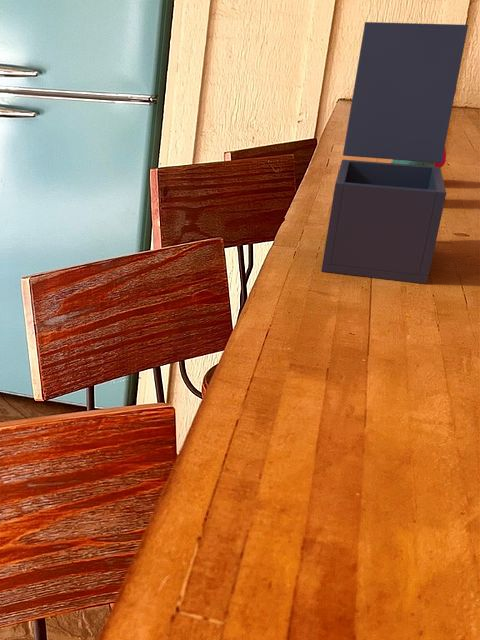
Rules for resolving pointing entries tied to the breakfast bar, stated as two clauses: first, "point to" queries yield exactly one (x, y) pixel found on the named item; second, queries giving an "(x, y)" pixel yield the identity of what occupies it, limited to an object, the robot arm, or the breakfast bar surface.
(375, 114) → the chest lid
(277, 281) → the breakfast bar surface
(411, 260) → the chest
